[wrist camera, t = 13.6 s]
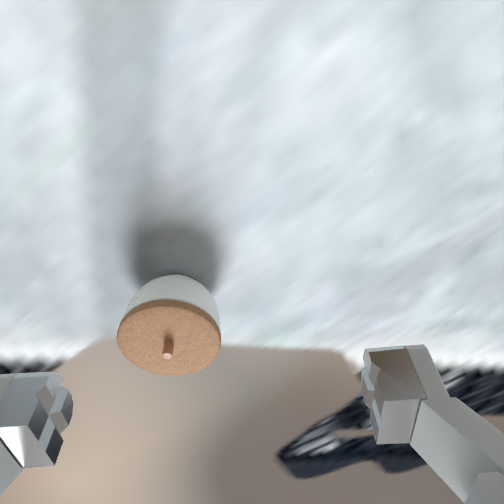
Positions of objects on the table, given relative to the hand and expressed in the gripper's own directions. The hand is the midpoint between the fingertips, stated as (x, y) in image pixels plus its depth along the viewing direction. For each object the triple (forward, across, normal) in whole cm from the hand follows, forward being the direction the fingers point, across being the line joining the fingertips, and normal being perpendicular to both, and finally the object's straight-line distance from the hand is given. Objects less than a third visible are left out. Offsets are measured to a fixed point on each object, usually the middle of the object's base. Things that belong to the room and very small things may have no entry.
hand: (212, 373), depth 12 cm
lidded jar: (+31, +9, +24) cm, 40 cm away
